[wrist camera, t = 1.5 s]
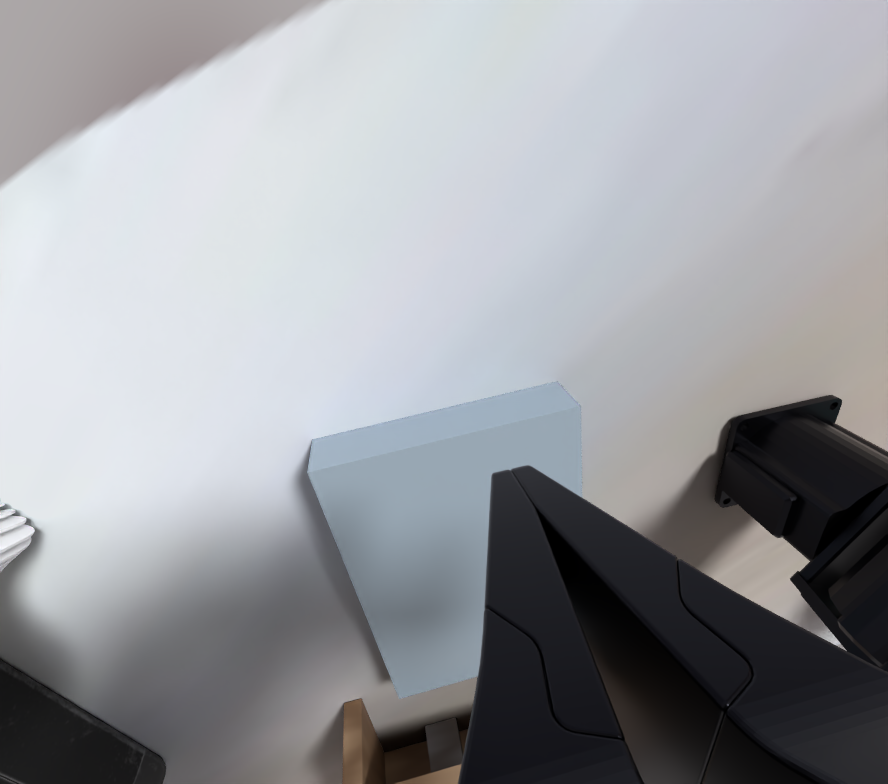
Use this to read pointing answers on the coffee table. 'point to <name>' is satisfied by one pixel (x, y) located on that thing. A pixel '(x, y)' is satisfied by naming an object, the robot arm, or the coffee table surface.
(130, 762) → the cash box
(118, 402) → the coffee table surface
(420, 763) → the tan rectangular block
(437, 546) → the slate tile
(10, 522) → the shell sculpture
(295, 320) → the coffee table surface
